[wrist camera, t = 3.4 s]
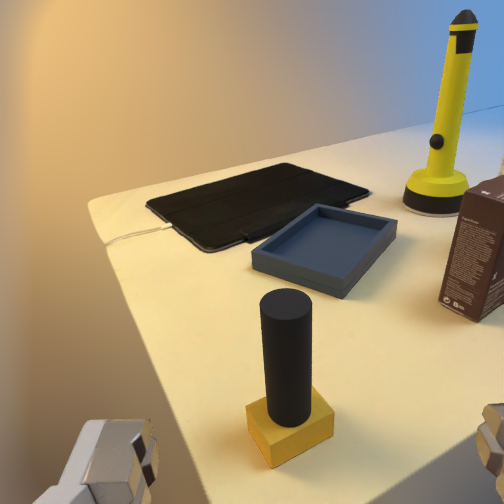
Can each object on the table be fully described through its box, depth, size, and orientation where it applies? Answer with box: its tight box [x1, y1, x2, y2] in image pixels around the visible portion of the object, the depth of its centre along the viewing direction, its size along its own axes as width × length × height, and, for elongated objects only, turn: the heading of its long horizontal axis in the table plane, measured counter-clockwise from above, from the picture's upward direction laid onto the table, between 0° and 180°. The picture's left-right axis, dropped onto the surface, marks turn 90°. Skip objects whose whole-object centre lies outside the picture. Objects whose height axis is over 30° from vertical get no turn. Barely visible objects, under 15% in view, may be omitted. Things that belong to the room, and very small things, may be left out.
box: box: [438, 175, 504, 322], centre depth 37 cm, size 6×4×12 cm
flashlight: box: [402, 10, 478, 217], centre depth 54 cm, size 25×9×9 cm
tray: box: [251, 204, 398, 299], centre depth 50 cm, size 16×12×2 cm
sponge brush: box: [246, 288, 334, 469], centre depth 26 cm, size 5×4×12 cm
